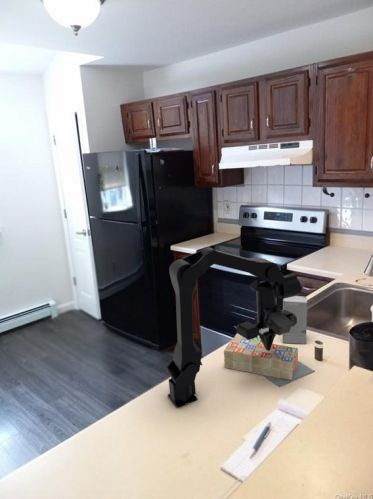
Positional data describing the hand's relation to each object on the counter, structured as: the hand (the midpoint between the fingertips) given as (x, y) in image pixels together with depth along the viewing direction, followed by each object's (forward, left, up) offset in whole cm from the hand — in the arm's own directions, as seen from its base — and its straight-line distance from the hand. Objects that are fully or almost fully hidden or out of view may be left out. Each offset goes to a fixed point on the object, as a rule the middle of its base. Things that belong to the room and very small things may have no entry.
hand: (267, 349), depth 113 cm
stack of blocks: (-4, +2, -5) cm, 6 cm away
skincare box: (+22, +12, -8) cm, 27 cm away
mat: (+5, +1, -8) cm, 10 cm away
